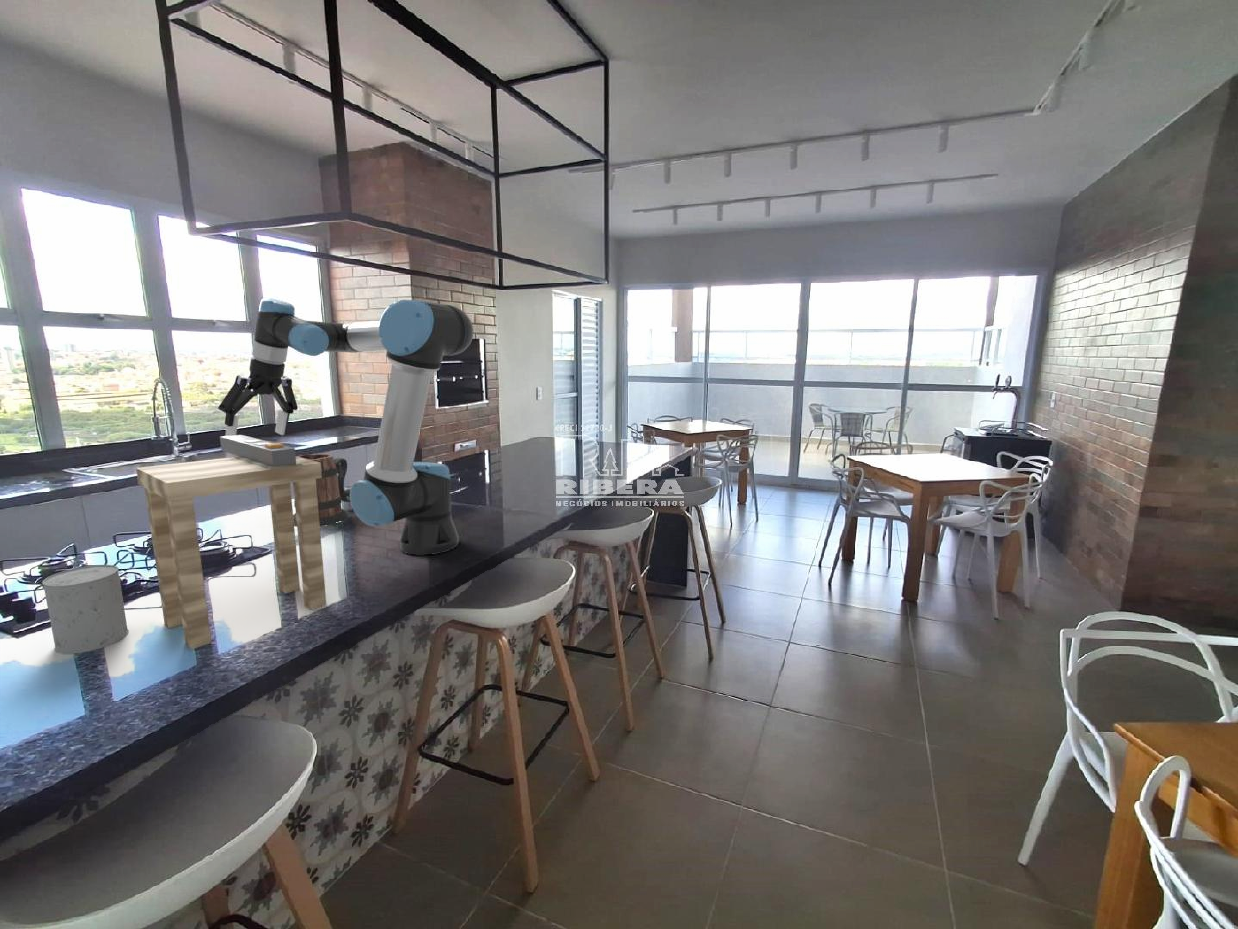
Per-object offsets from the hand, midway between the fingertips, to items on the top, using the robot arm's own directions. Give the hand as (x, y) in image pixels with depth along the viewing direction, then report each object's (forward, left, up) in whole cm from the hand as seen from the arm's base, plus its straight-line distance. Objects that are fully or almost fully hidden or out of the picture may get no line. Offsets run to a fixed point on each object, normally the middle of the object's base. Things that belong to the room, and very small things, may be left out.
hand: (255, 435), depth 148 cm
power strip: (-23, +39, +1) cm, 45 cm away
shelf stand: (-23, +47, -29) cm, 60 cm away
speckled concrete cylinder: (-2, +57, -29) cm, 64 cm away
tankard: (-7, -21, -29) cm, 37 cm away
